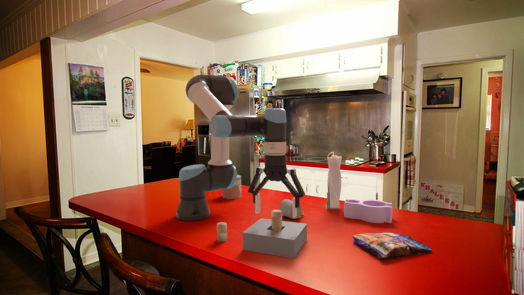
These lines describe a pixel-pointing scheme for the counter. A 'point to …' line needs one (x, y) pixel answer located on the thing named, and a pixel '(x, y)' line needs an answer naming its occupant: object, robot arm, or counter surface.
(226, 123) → the robot arm
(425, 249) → the food package
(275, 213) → the long pin
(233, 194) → the canned food
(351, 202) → the clip
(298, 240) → the hole block
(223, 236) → the short pin
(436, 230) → the counter surface
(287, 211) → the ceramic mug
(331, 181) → the skyscraper
